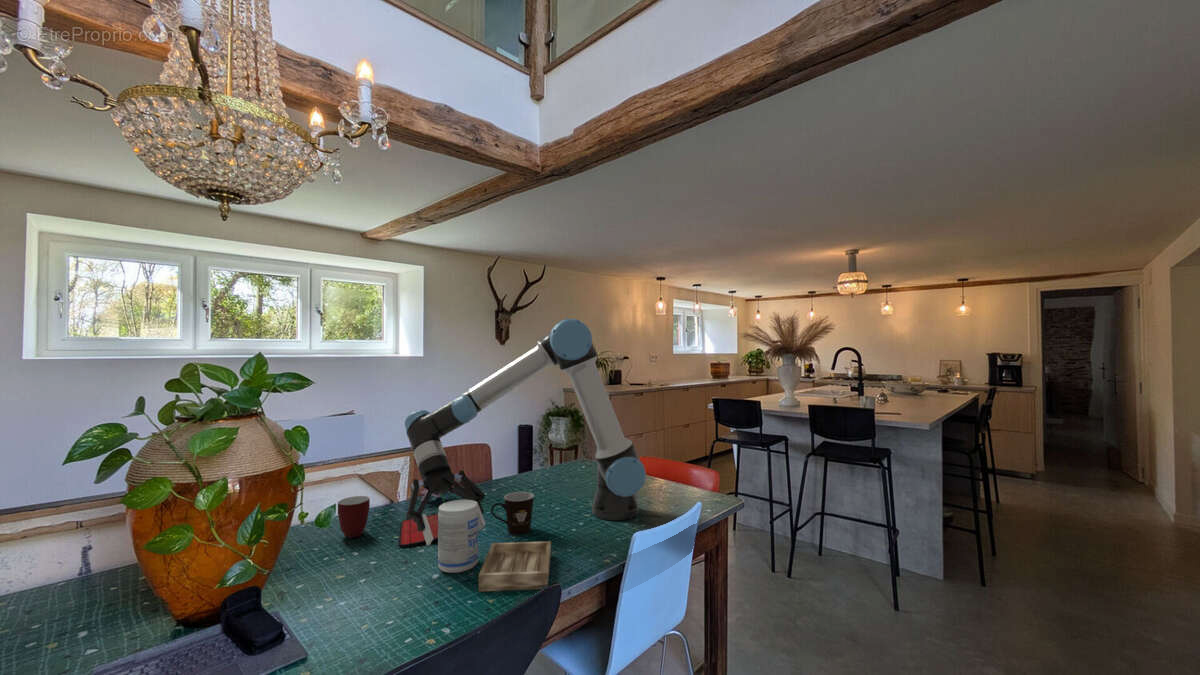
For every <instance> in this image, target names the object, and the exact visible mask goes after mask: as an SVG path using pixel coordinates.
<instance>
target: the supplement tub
mask: <svg viewBox="0 0 1200 675" xmlns="http://www.w3.org/2000/svg"><path fill="white" fill-rule="evenodd" d="M437 514H438V543H437V566H438V568H439V570H440V571H441V572H444V573H448V574H458V573H463V572H466V571H469V570H471V569H473V568H475V567H476V565H477V564H478V562H479V528H478V504H477V502H476V501H473V500H464V499H454V500H450V501H447V502H446V501H445V503H444V502H443V503H441V504H440V505H439V506H438V513H437Z"/></svg>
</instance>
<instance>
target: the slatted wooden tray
mask: <svg viewBox="0 0 1200 675" xmlns="http://www.w3.org/2000/svg"><path fill="white" fill-rule="evenodd" d="M551 558H552V540H551V541H550V540H549V541H547V540H546V541H520V542H519V541H517V542H492V543H491V544H490V547H489V550H488V552H487V554H486V556H485V559H484V561H483V564H482V566H481V569H480V571H479V574H478V592H479V593H480V592H503V591H506V592H508V591H530V590H531V591H532V590H543V589H542V588H544V587H546V586H548V587H549V578H550V577H549V576H550V569H551V568H550V567H551V560H552V559H551ZM550 559H551V560H550Z"/></svg>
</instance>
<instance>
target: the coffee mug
mask: <svg viewBox="0 0 1200 675" xmlns="http://www.w3.org/2000/svg"><path fill="white" fill-rule="evenodd" d="M534 498H535V494H533V493H532V492H527V491H515V492H510V493H507V494H506V495H504V497H503V500H504V503H501V502H496V503H494V504H493V505H492V506H491V509H490V513H491V515H492V516H494V518H496V519H497V520H499V521H500V522H502V523H505V525H506V526H507V533H508V534H509V535H511V534H512V535H511V536H523V535H526V534H529V533H530V532H531V525H532V516H533V507H534V500H535V499H534ZM497 506H502V508H503V509H504V511H505V516H506V520H505V519H503V518H501V517H499V516H497V515H496V514H495V513H494V509H495V507H497Z"/></svg>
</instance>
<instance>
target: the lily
mask: <svg viewBox="0 0 1200 675" xmlns="http://www.w3.org/2000/svg"><path fill="white" fill-rule="evenodd" d="M427 492H428V490H427V489H426V488H424V490H422V491H421V492H420V493H421V494H424V495H423V496H422V498H421V499H420V502H421V501H423V500H424V498H425V496H426V494H427ZM431 496H433V497H435V498H437V497H438V498H440V496H441V499H442V501H443V503H446V501H445V499H444V496H443V495H442V493H441V494H439V495H435V494H433V493H432V495H431Z"/></svg>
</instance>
